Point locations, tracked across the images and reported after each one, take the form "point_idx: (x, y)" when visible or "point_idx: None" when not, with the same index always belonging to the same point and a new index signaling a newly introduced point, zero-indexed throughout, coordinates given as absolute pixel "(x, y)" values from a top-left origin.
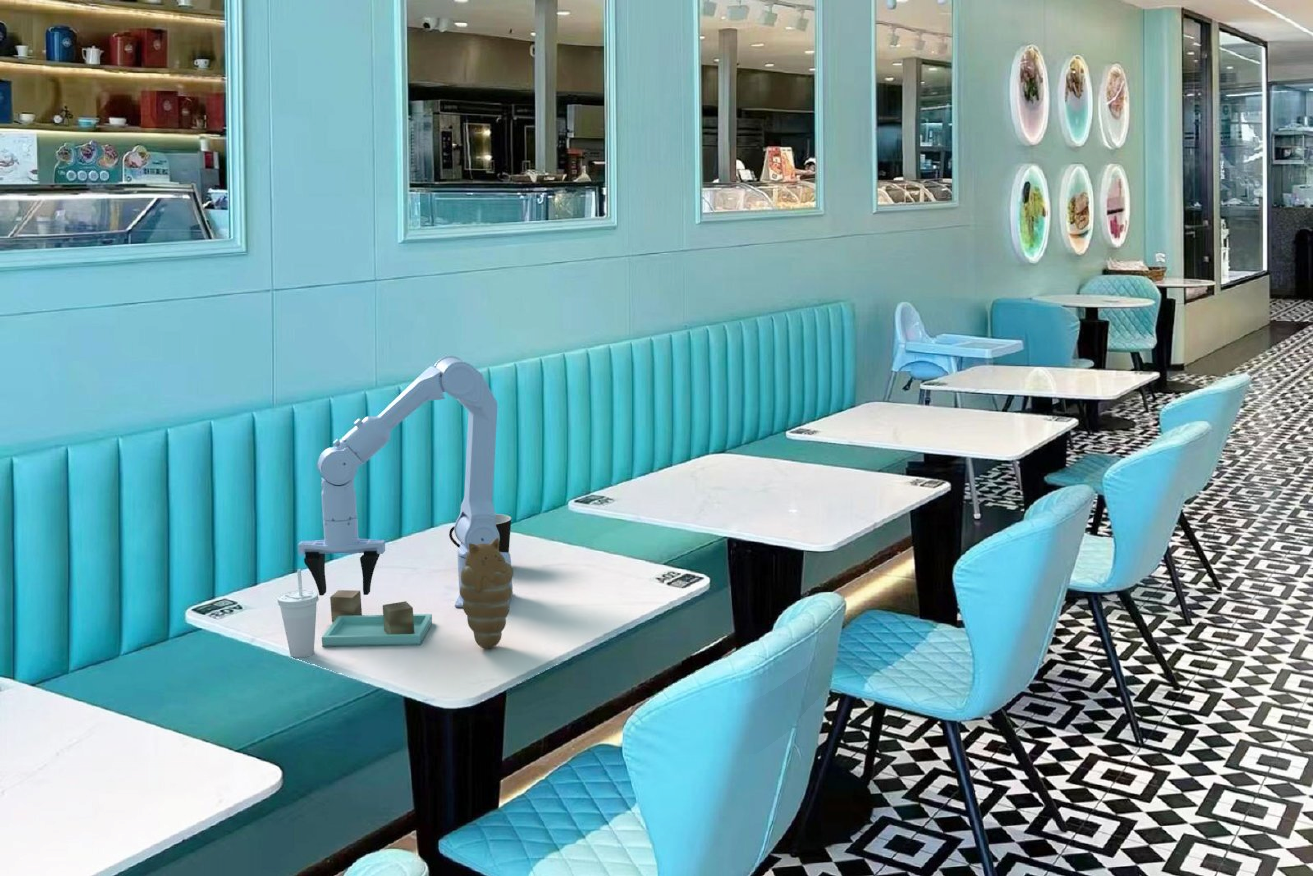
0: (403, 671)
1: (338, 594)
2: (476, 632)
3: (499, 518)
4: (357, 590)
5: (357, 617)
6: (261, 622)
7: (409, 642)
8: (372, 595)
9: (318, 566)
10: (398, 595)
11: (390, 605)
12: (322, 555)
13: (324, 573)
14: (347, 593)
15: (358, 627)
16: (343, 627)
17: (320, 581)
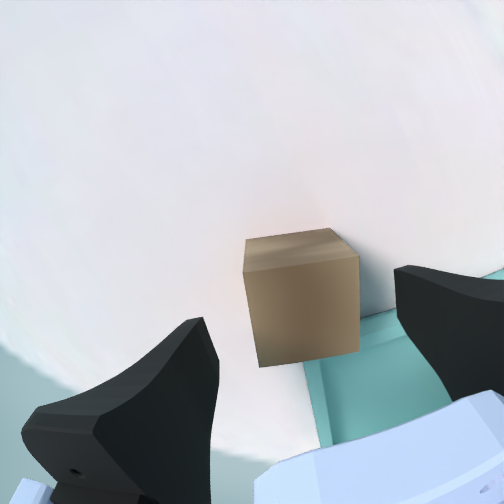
0: None
1: (278, 330)
2: None
3: None
4: (345, 259)
5: (368, 346)
6: (66, 342)
7: None
8: (256, 11)
9: (208, 497)
10: (352, 5)
11: None
12: (153, 478)
13: (175, 364)
14: (315, 311)
15: (371, 356)
16: (328, 366)
17: (212, 419)
